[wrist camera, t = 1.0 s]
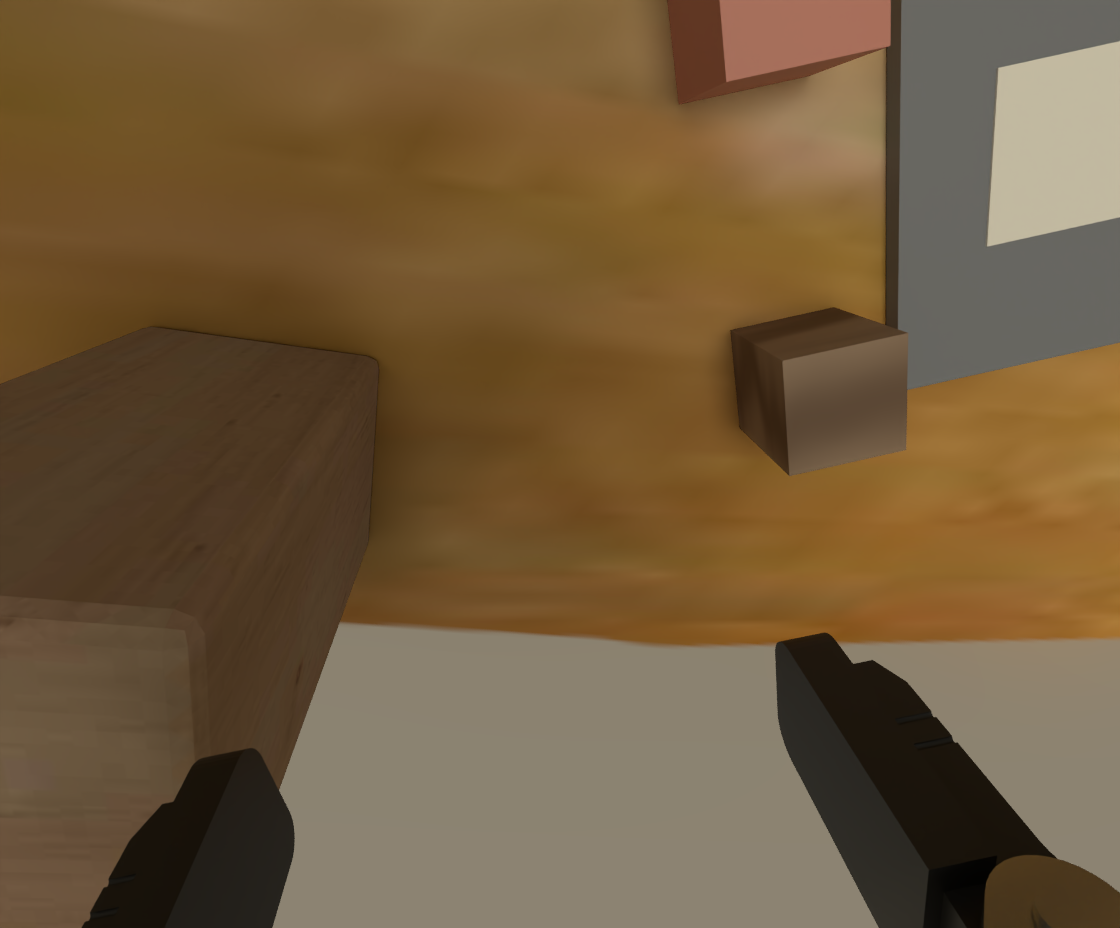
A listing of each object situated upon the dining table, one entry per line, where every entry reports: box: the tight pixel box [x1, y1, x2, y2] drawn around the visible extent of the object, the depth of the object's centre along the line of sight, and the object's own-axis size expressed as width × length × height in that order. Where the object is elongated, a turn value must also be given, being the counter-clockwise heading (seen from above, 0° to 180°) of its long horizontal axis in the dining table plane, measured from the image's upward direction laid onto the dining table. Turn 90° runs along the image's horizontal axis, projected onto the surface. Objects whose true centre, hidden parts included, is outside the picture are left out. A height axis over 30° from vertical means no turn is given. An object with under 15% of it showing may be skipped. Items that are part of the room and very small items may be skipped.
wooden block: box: [0, 327, 379, 928], centre depth 21 cm, size 10×10×20 cm
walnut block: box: [730, 307, 908, 476], centre depth 29 cm, size 5×5×6 cm
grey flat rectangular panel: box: [886, 0, 1120, 390], centre depth 28 cm, size 19×15×1 cm
